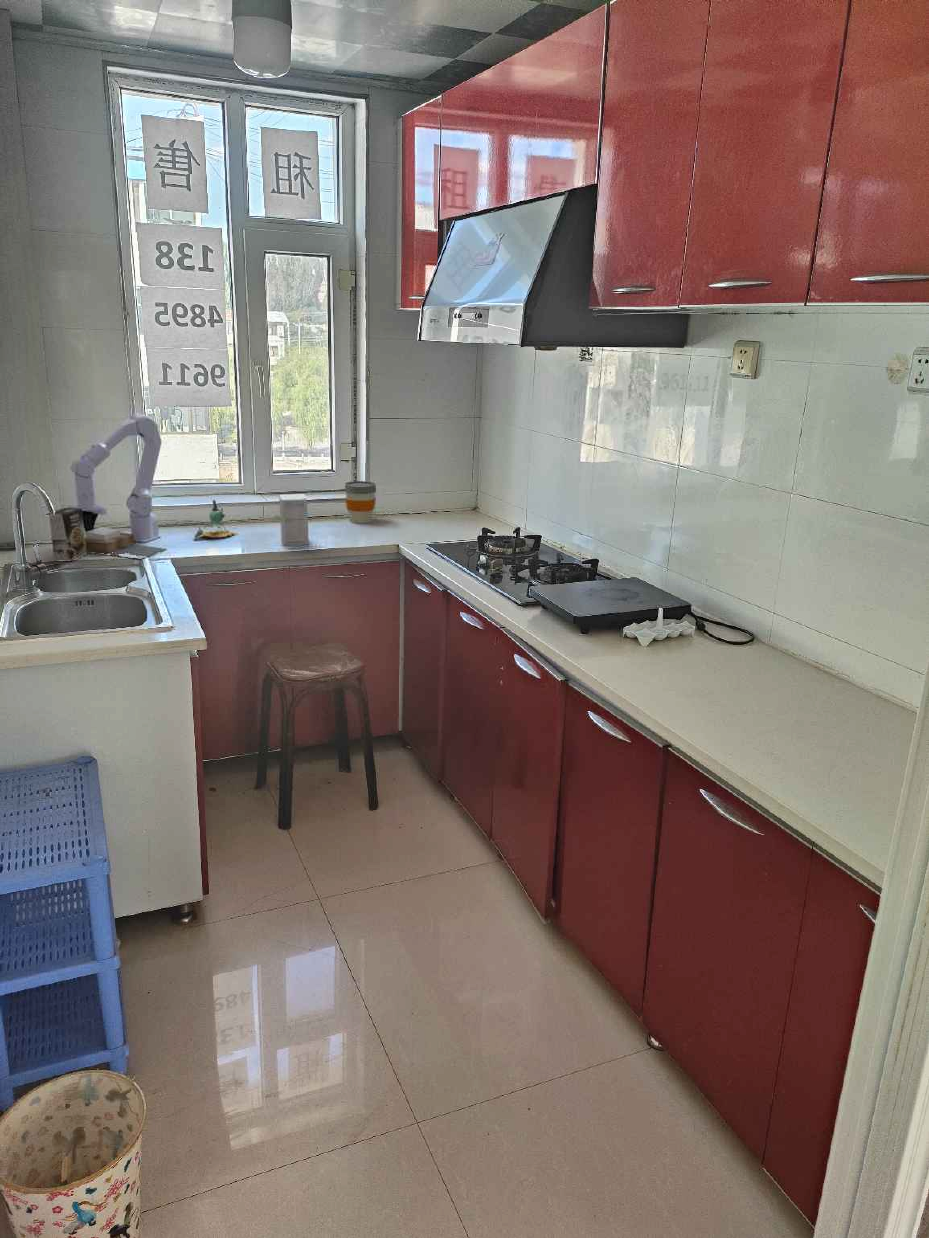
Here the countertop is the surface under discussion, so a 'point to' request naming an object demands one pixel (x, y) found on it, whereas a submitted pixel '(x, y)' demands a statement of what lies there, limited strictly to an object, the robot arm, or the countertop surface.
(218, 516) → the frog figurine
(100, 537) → the tile
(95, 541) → the flat brown box
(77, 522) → the coffee box
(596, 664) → the countertop surface
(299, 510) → the supplement box
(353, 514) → the reusable coffee cup
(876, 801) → the countertop surface
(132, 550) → the mat
